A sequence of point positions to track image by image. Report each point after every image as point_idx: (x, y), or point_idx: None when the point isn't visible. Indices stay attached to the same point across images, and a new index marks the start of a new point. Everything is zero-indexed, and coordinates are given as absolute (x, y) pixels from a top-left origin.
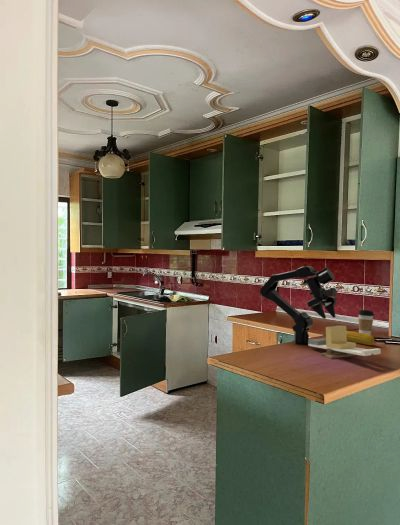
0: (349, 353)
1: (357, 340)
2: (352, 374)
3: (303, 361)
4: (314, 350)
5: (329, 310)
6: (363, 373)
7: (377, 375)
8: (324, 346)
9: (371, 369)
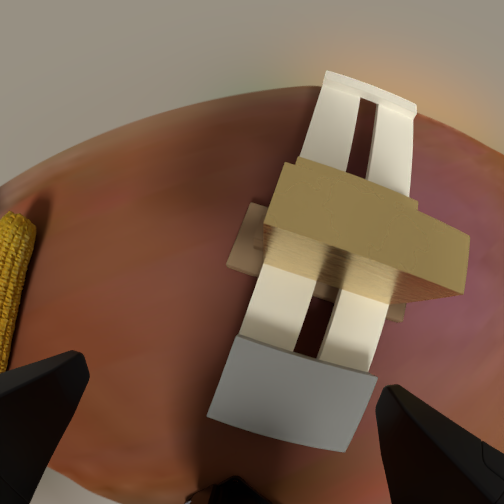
0: None
1: (20, 281)
2: (463, 157)
3: (496, 311)
4: None
5: (22, 463)
6: (434, 137)
7: None
8: (384, 318)
9: None
